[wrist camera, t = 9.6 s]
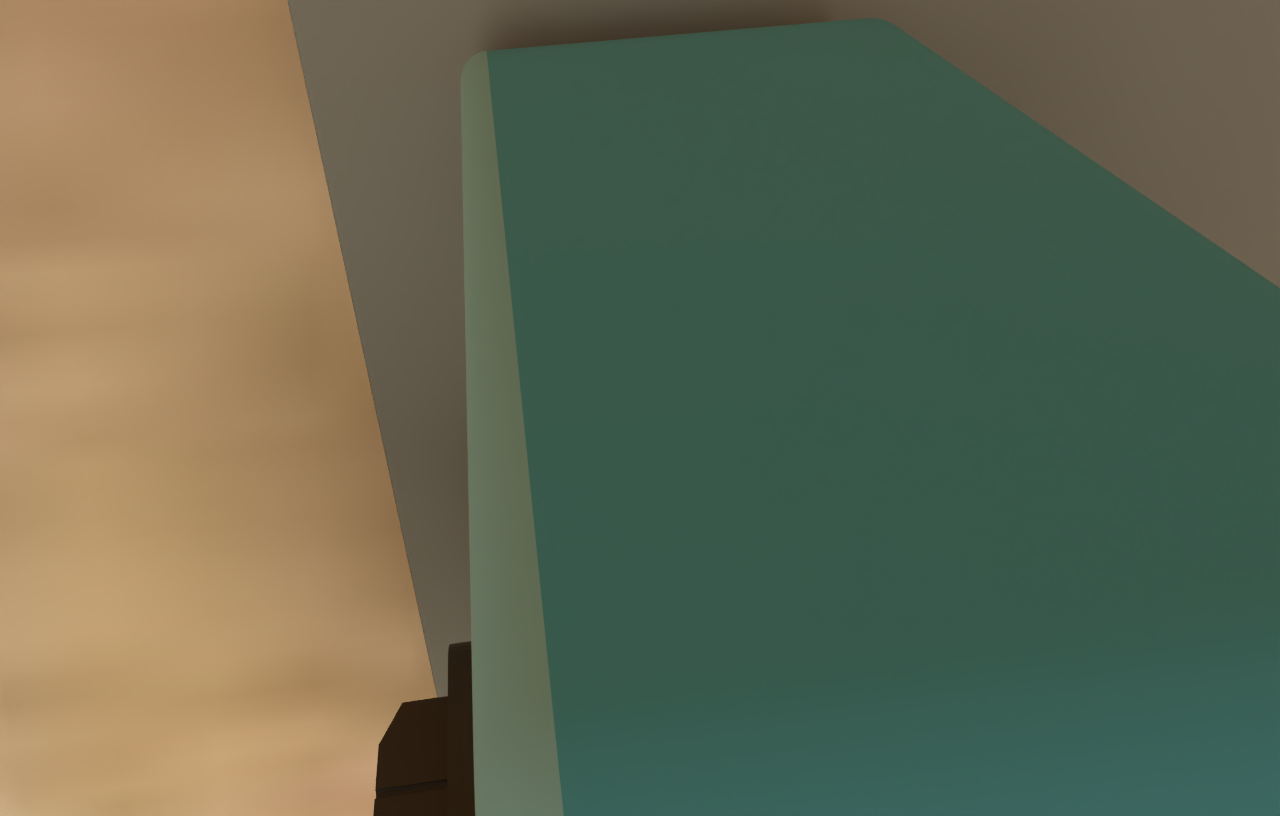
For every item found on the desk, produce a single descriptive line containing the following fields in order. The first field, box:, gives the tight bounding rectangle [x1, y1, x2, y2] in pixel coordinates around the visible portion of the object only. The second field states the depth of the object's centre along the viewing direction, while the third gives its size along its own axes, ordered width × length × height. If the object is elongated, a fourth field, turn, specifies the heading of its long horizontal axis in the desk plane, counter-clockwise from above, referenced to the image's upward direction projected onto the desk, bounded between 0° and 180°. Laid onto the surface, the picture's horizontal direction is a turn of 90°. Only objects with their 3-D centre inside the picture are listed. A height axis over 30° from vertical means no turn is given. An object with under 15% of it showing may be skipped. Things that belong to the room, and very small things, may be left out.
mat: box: [288, 0, 1280, 697], centre depth 17 cm, size 14×20×1 cm
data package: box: [461, 18, 1280, 816], centre depth 11 cm, size 12×4×12 cm, turn 3°
